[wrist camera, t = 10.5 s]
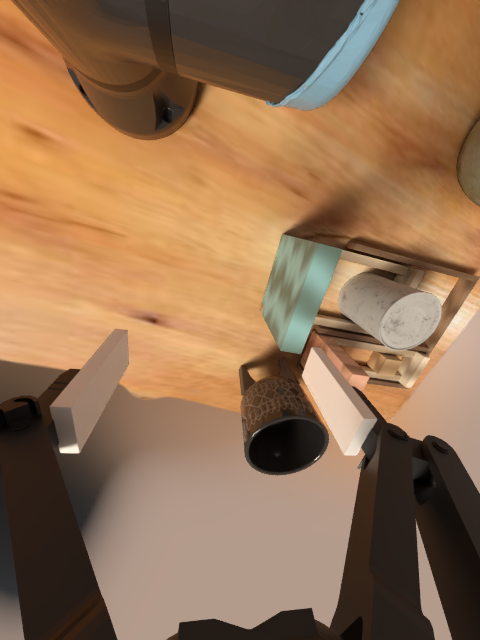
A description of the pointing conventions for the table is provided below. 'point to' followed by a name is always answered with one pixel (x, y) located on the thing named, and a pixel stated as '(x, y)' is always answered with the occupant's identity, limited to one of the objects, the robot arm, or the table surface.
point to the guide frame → (448, 308)
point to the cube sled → (361, 374)
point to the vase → (470, 165)
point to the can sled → (312, 289)
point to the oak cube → (384, 363)
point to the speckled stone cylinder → (390, 310)
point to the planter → (280, 424)
